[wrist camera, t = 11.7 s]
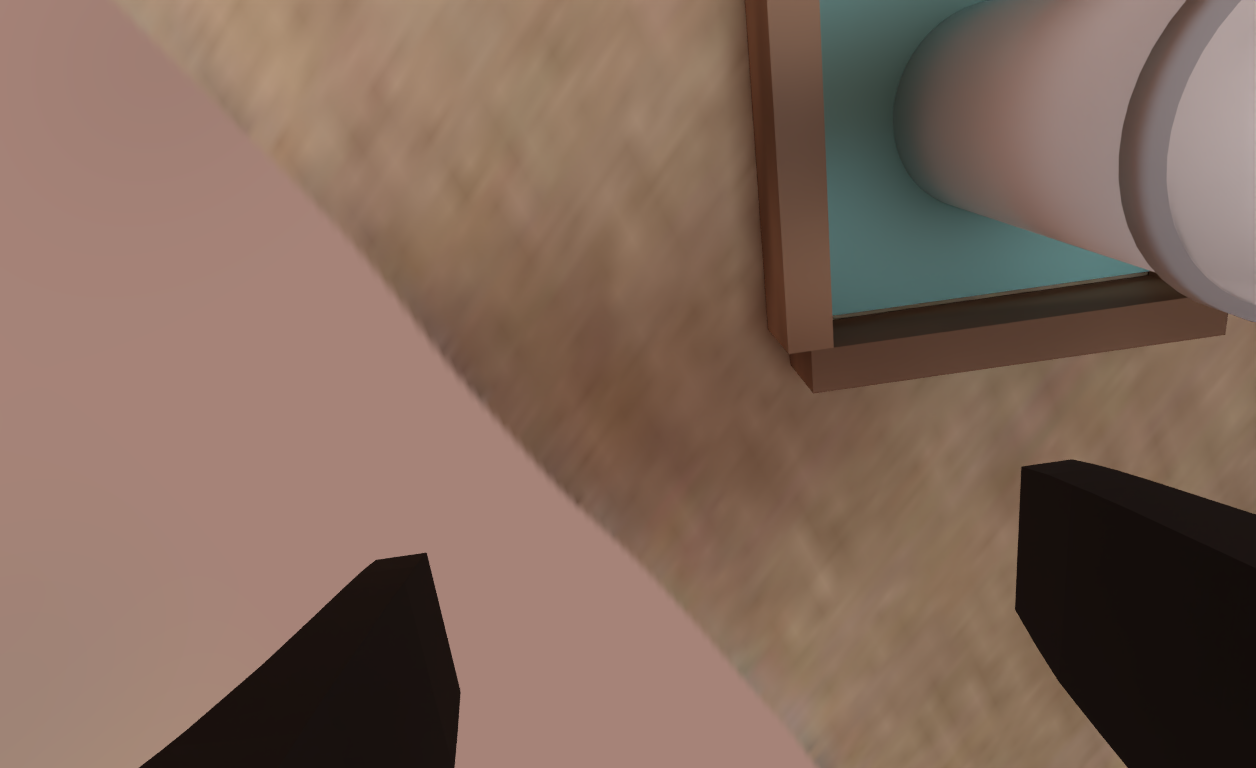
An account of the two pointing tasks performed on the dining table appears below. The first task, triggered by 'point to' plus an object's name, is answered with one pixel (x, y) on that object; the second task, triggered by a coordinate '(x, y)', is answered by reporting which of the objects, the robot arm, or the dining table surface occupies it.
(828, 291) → the brown flat frame
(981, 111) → the tube
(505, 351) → the dining table surface
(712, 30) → the dining table surface
